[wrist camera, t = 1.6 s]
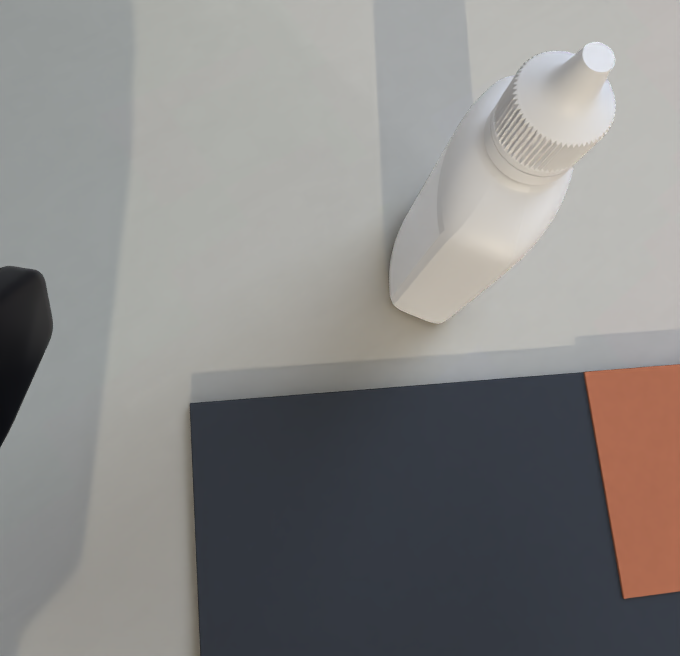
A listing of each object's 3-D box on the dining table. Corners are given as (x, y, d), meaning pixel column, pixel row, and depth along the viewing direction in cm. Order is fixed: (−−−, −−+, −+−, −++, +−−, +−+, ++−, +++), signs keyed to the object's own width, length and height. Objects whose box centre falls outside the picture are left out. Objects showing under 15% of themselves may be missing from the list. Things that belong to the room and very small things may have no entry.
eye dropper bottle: (345, 254, 24) (425, 48, 12) (451, 172, 25) (616, -84, 13) (420, 342, 23) (578, 217, 12) (524, 255, 25) (760, 64, 13)
